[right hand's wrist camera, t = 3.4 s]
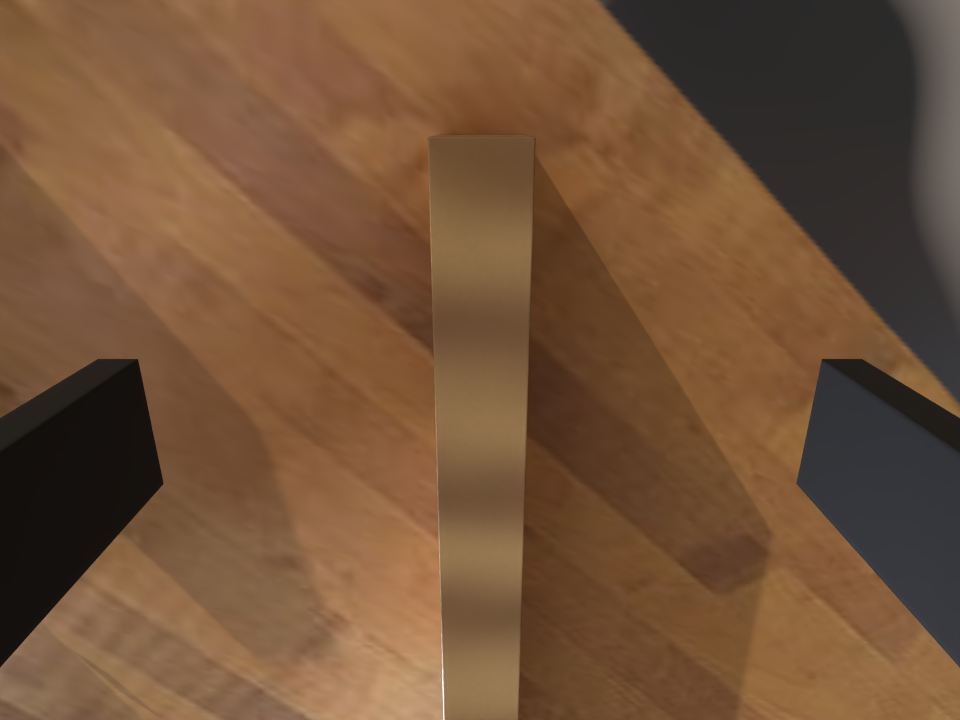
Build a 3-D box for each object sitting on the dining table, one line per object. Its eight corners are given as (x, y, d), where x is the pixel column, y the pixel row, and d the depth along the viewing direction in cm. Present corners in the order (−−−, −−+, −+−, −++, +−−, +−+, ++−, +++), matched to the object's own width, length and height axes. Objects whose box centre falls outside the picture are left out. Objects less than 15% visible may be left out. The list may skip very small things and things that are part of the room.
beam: (439, 134, 34) (427, 136, 27) (523, 134, 34) (535, 136, 27) (456, 938, 60) (453, 1054, 52) (505, 938, 60) (508, 1054, 52)
